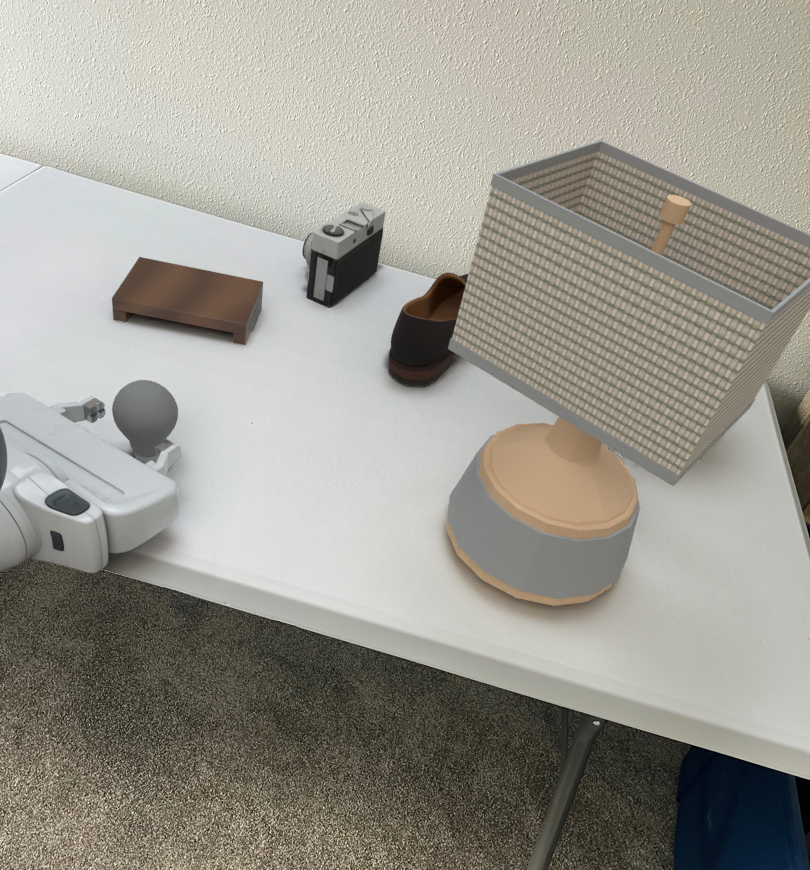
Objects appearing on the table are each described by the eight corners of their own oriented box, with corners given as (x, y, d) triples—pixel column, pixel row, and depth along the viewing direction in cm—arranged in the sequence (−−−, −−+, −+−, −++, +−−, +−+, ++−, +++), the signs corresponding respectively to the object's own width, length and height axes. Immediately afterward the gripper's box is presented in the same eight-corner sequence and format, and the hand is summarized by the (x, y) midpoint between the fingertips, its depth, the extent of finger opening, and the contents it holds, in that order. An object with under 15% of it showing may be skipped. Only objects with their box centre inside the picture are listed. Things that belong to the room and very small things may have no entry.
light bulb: (159, 494, 77) (155, 413, 70) (105, 473, 78) (96, 391, 71) (190, 460, 82) (189, 380, 75) (139, 440, 82) (133, 360, 75)
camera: (331, 254, 119) (339, 188, 112) (378, 273, 117) (389, 208, 110) (281, 287, 109) (286, 217, 102) (332, 309, 108) (341, 240, 101)
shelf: (114, 327, 95) (111, 298, 93) (140, 285, 103) (139, 256, 100) (244, 352, 97) (246, 324, 94) (261, 308, 105) (263, 281, 102)
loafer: (510, 316, 116) (529, 253, 109) (433, 404, 97) (451, 335, 90) (452, 292, 118) (468, 229, 111) (366, 374, 98) (379, 304, 92)
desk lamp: (393, 531, 80) (484, 163, 54) (496, 457, 92) (612, 125, 66) (568, 661, 72) (773, 306, 46) (657, 562, 84) (859, 234, 58)
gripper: (-62, 472, 70) (60, 405, 80) (110, 583, 65) (218, 498, 75) (-79, 416, 66) (52, 352, 75) (103, 531, 61) (219, 447, 70)
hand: (136, 426), depth 75 cm, fingers open, 8 cm apart
